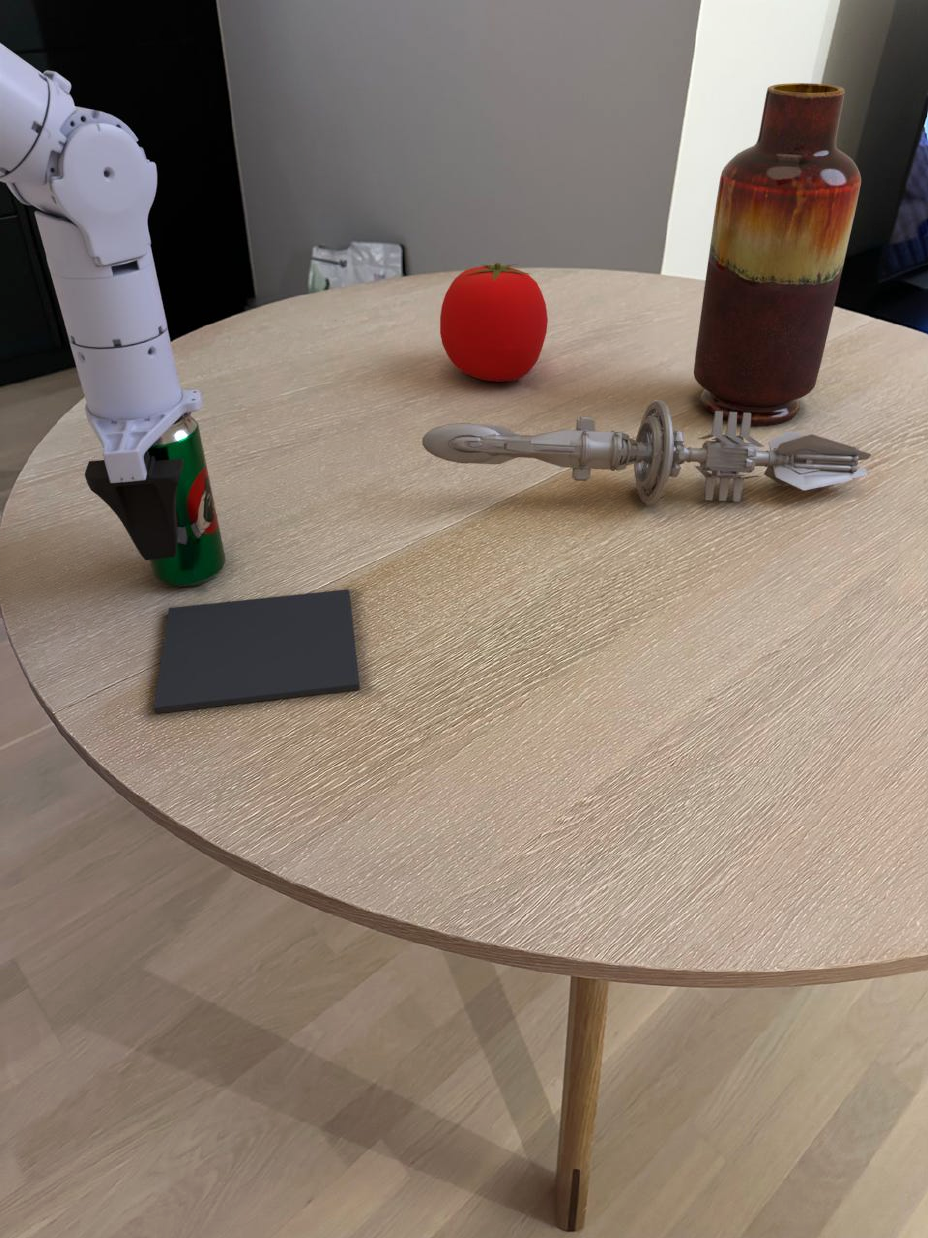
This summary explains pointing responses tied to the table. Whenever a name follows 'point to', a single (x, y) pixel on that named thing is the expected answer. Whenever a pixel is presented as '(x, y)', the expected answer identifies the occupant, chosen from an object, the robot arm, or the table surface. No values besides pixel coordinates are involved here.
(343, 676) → the mat
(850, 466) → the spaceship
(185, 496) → the soda can
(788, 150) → the vase
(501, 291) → the tomato
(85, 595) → the table surface
